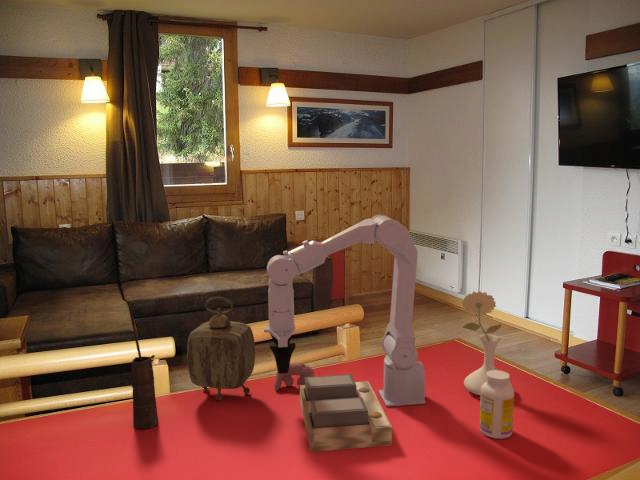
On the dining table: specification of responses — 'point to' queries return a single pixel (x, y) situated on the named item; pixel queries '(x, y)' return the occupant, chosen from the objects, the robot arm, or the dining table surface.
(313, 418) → the brown block
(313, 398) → the key grey
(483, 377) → the flower in vase
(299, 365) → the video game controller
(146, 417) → the butter churn
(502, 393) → the supplement bottle
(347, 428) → the switch panel
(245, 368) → the tabletop clock
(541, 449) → the dining table surface
